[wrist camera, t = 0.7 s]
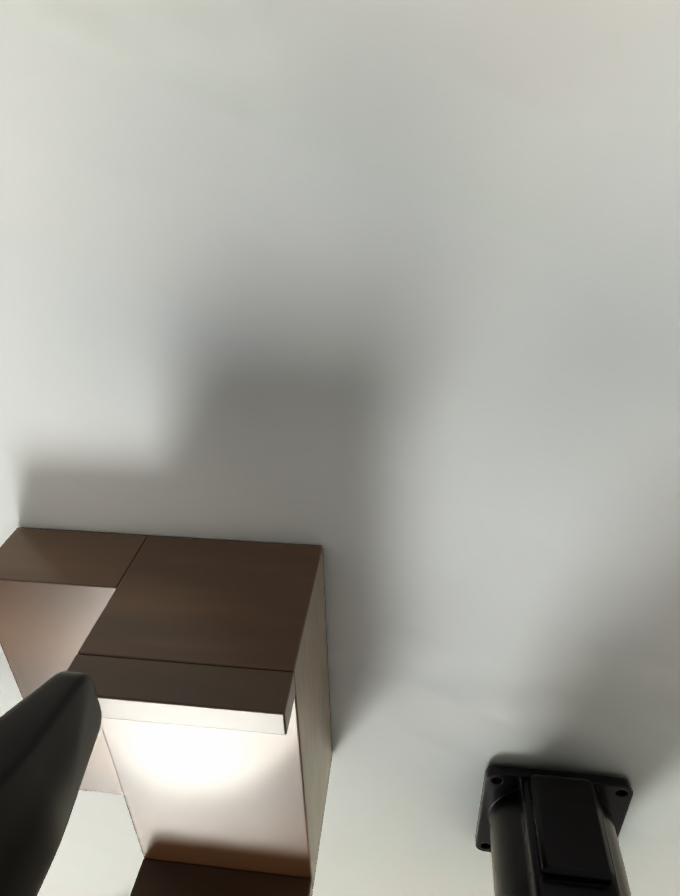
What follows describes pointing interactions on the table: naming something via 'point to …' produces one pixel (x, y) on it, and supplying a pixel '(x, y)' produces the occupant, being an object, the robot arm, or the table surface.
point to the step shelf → (188, 694)
